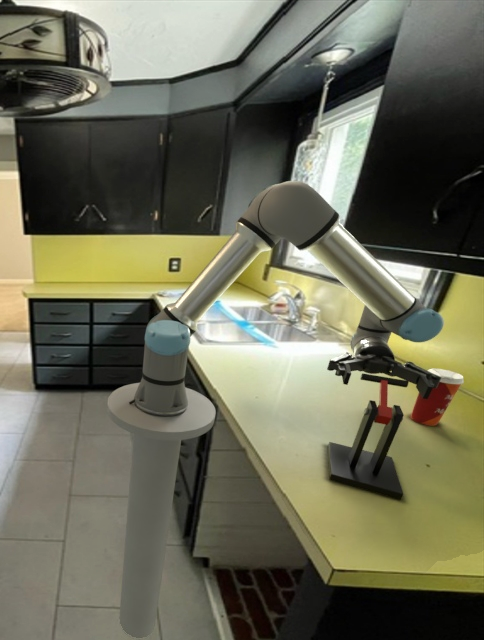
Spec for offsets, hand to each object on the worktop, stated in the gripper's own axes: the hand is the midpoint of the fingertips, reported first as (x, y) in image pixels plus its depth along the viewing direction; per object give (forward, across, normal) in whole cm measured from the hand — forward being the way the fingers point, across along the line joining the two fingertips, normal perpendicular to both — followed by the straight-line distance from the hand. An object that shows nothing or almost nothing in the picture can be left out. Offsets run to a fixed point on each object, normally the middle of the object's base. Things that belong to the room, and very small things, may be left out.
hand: (386, 385), depth 76 cm
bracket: (+6, 0, -18) cm, 19 cm away
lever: (+1, 0, -3) cm, 3 cm away
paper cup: (-30, -17, -18) cm, 39 cm away
